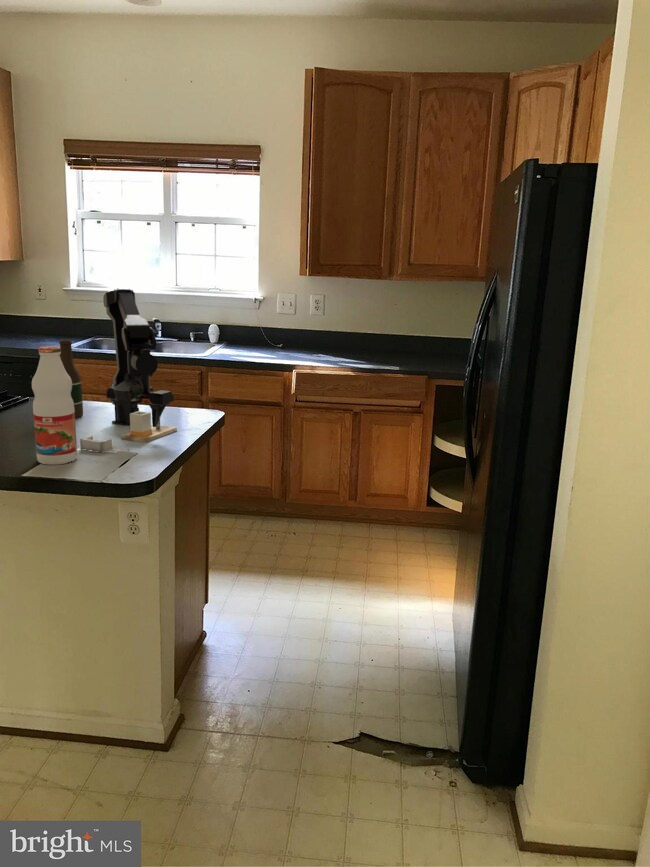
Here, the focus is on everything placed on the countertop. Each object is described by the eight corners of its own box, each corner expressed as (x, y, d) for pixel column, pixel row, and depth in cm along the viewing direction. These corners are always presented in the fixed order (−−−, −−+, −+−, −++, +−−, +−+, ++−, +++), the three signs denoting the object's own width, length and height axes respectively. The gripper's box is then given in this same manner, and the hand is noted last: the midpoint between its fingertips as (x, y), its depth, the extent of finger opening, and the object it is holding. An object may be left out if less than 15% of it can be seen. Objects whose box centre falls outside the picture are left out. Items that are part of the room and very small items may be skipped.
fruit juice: (83, 455, 176) (77, 345, 169) (67, 466, 166) (59, 350, 160) (48, 453, 176) (40, 344, 169) (29, 464, 167) (20, 348, 160)
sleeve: (129, 434, 192) (128, 413, 191) (139, 431, 196) (138, 410, 195) (142, 436, 191) (141, 415, 189) (152, 433, 195) (151, 412, 193)
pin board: (121, 439, 192) (121, 425, 191) (154, 427, 206) (153, 414, 205) (145, 442, 189) (145, 428, 188) (176, 430, 203) (176, 417, 202)
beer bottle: (88, 416, 218) (84, 339, 212) (68, 420, 211) (62, 342, 205) (72, 412, 222) (67, 337, 216) (51, 417, 215) (46, 339, 209)
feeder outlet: (80, 449, 181) (80, 439, 180) (91, 445, 185) (90, 435, 184) (102, 452, 178) (101, 442, 178) (112, 449, 182) (111, 438, 181)
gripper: (91, 370, 185) (94, 427, 189) (149, 377, 179) (151, 435, 182) (118, 365, 195) (120, 419, 199) (174, 371, 189) (175, 426, 192)
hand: (140, 425), depth 193 cm, fingers open, 9 cm apart
